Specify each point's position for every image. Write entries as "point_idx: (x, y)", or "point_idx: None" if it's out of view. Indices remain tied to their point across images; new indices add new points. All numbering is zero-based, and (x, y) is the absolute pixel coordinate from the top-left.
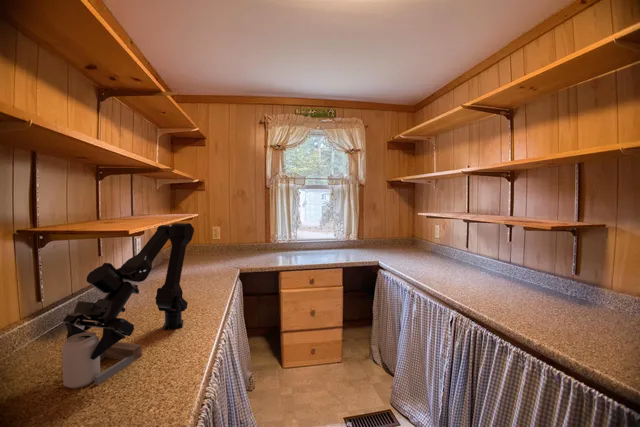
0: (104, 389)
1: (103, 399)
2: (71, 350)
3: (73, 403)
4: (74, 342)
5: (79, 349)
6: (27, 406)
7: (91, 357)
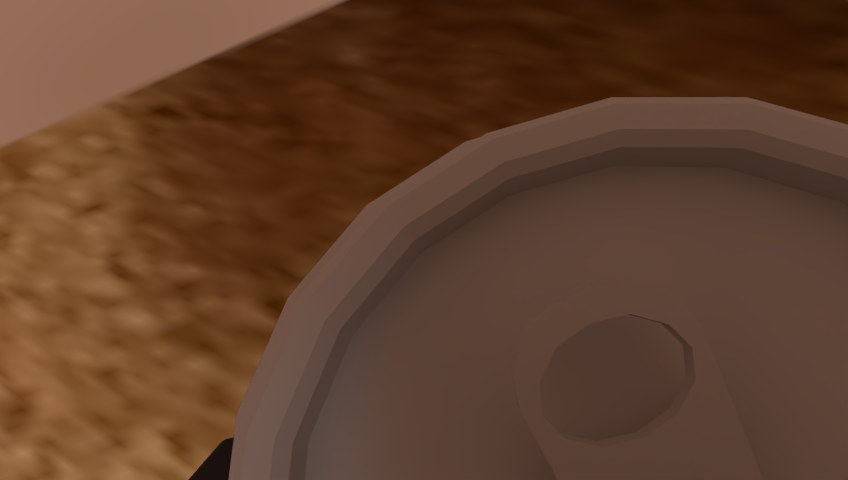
0: (195, 453)
1: (72, 355)
2: (424, 170)
3: (266, 221)
4: (434, 195)
5: (307, 282)
6: (585, 49)
7: (228, 446)
